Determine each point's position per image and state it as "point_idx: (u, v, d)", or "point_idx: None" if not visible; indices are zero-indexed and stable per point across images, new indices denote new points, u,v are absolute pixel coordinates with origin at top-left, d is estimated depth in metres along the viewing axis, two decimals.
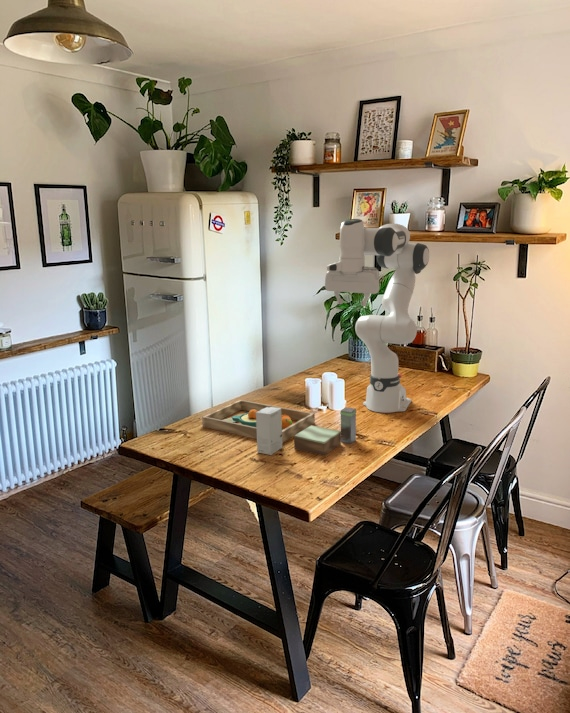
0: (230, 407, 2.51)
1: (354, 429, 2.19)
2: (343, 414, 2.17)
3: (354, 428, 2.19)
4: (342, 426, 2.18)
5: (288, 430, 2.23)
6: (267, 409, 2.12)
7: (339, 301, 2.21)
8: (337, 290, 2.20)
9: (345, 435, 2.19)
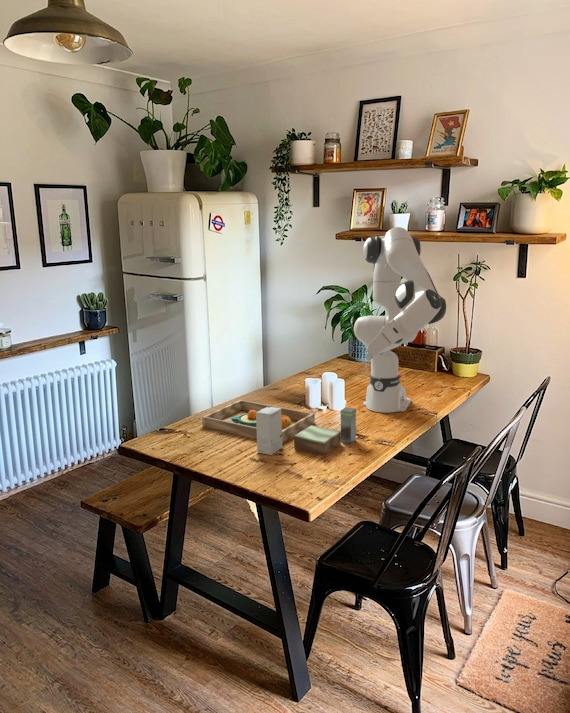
0: (230, 407, 2.51)
1: (354, 429, 2.19)
2: (343, 414, 2.17)
3: (354, 428, 2.19)
4: (342, 426, 2.18)
5: (288, 430, 2.23)
6: (267, 409, 2.12)
7: (371, 358, 2.04)
8: (380, 353, 2.01)
9: (345, 435, 2.19)
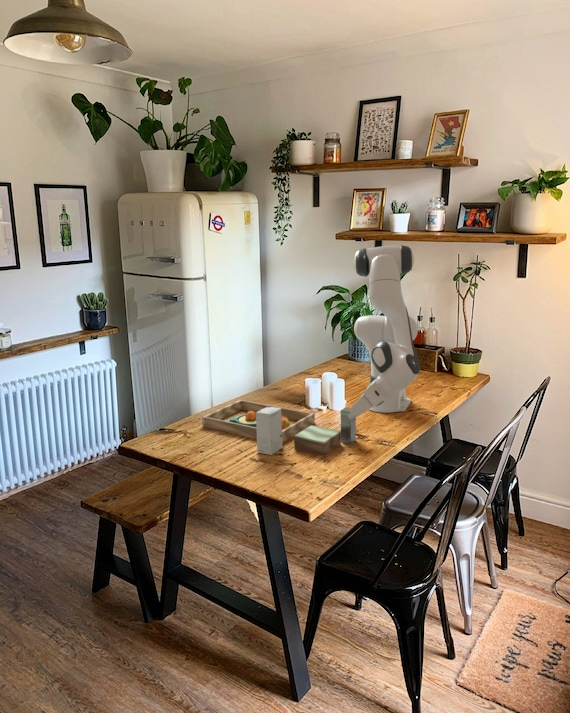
0: (230, 407, 2.51)
1: (354, 429, 2.19)
2: (343, 414, 2.17)
3: (354, 428, 2.19)
4: (342, 426, 2.18)
5: (288, 430, 2.23)
6: (267, 409, 2.12)
7: None
8: None
9: (345, 435, 2.19)
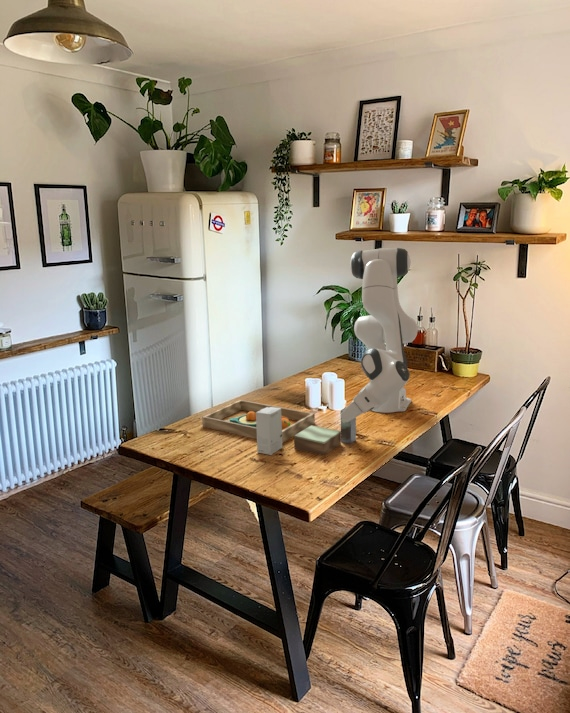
0: (230, 407, 2.51)
1: (354, 429, 2.19)
2: None
3: (354, 428, 2.19)
4: (342, 426, 2.18)
5: (288, 430, 2.23)
6: (267, 409, 2.12)
7: None
8: None
9: (345, 435, 2.19)
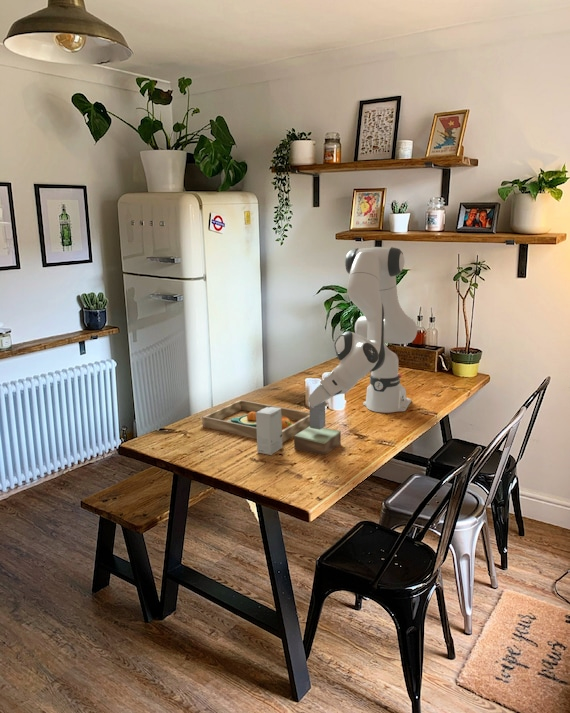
0: (230, 407, 2.51)
1: (323, 414, 2.13)
2: None
3: (323, 413, 2.13)
4: (311, 411, 2.12)
5: (288, 430, 2.23)
6: (267, 409, 2.12)
7: None
8: (320, 403, 2.06)
9: (314, 420, 2.12)
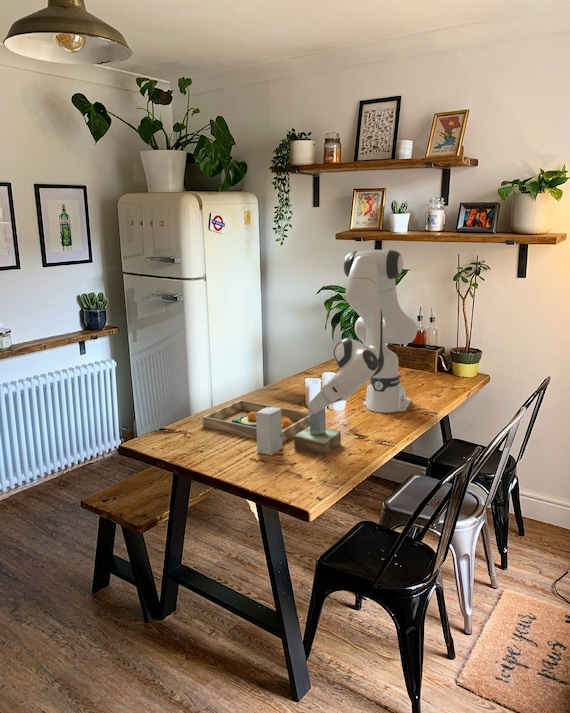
0: (230, 407, 2.51)
1: (324, 421, 2.14)
2: None
3: (323, 419, 2.14)
4: (311, 418, 2.13)
5: (288, 430, 2.23)
6: (267, 409, 2.12)
7: (312, 414, 2.09)
8: (321, 409, 2.06)
9: (314, 427, 2.13)
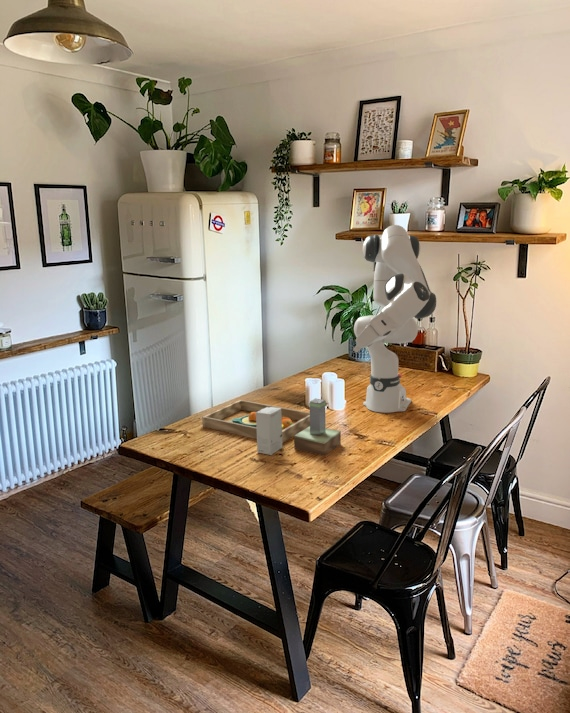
0: (230, 407, 2.51)
1: (324, 421, 2.14)
2: (312, 405, 2.11)
3: (323, 419, 2.14)
4: (311, 418, 2.13)
5: (288, 430, 2.23)
6: (267, 409, 2.12)
7: (359, 350, 2.04)
8: (368, 345, 2.02)
9: (314, 427, 2.13)
